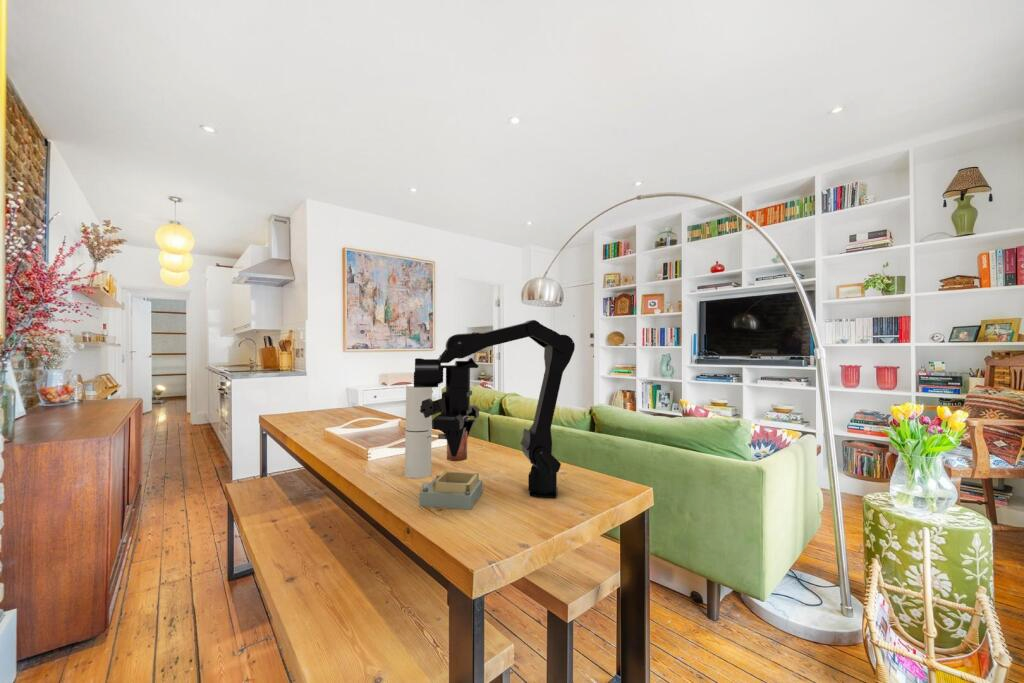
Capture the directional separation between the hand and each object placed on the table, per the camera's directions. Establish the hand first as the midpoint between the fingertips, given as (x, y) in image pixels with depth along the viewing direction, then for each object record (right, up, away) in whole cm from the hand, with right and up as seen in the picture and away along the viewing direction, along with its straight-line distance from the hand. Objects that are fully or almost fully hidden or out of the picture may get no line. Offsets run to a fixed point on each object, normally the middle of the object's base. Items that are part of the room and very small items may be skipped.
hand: (457, 453), depth 97 cm
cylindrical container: (-13, -11, +18) cm, 25 cm away
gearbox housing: (-1, -11, 0) cm, 11 cm away
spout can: (-1, -1, 0) cm, 2 cm away
